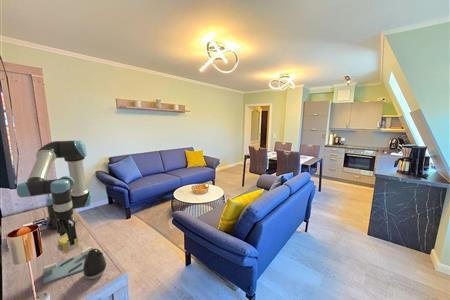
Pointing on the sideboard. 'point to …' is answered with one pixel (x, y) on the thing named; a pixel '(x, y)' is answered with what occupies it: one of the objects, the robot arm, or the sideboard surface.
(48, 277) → the shaft rig
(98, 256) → the dark grey dome
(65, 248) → the coupler
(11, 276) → the sideboard surface
